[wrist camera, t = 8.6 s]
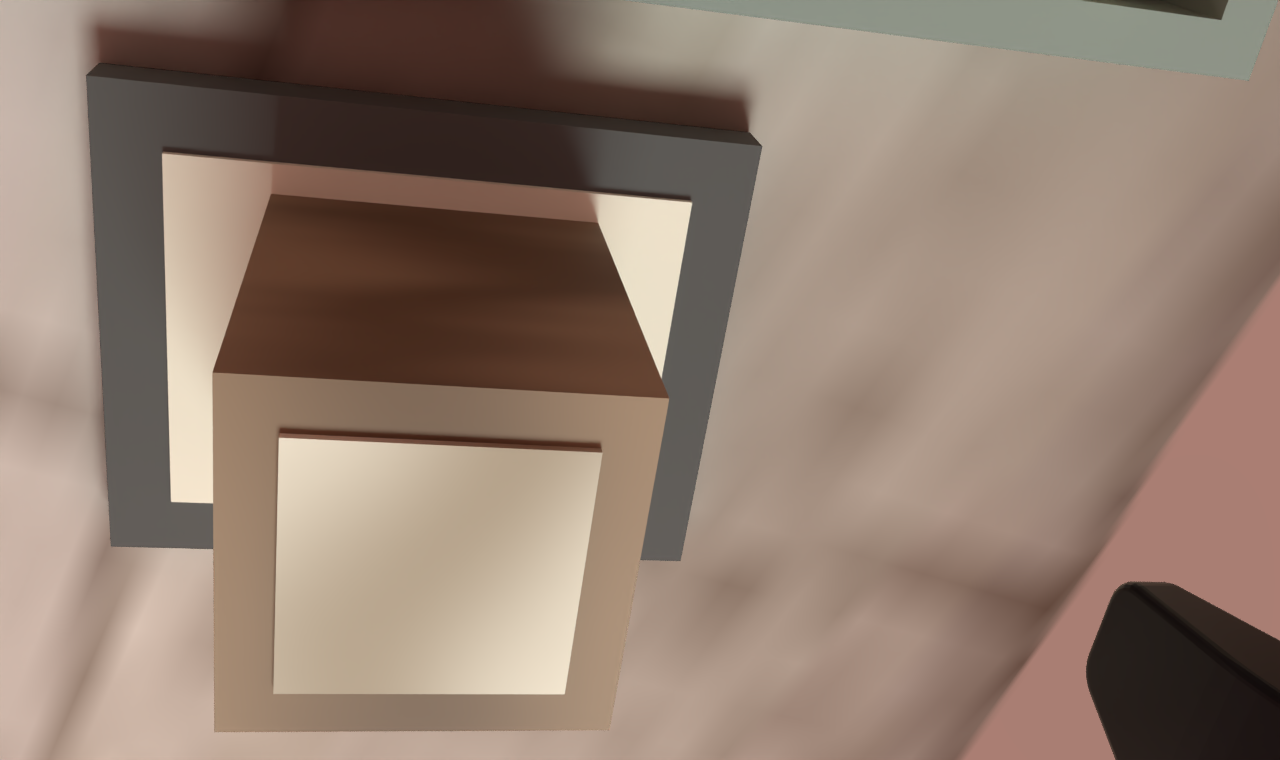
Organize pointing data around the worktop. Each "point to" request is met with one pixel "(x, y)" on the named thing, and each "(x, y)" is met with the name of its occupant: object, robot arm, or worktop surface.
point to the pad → (388, 174)
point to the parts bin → (1049, 26)
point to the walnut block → (427, 473)
